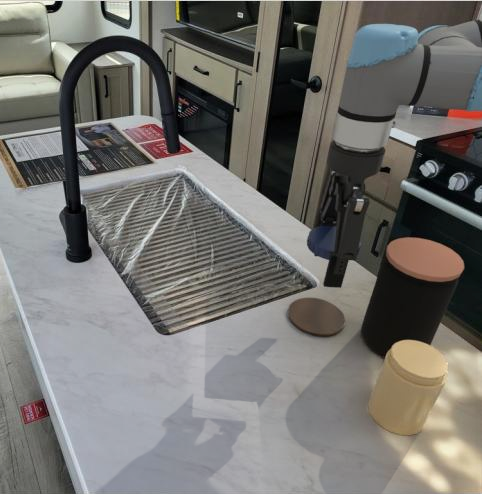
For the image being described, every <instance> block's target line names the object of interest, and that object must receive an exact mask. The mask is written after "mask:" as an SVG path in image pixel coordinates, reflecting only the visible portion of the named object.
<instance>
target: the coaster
mask: <svg viewBox="0 0 482 494" xmlns="http://www.w3.org/2000/svg"><path fill="white" fill-rule="evenodd" d="M287 317H288V319H289V321H290V323H291V324H292V325H293V326H294V327H295V328H296V329H298V330H300V331H301V332H303V333H306V334H307V335H311V336H314V337H321V338H325V337H333V336H336V335H337V334H339V333H341V332H342V331H343V330H344V327H345V325H346V318H345V315H344V313H343V312H342V310H341V309H340V308H339V307H338V306H336V305H335V304H333V303H331V302H329V300H325V299H322V298H317V297H301V298H298V299H296V300H294V301H292V303H291V304H290V305H289V307H288V309H287Z"/></svg>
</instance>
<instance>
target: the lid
mask: <svg viewBox="0 0 482 494" xmlns="http://www.w3.org/2000/svg"><path fill="white" fill-rule="evenodd" d="M336 228H337V226H320V225H318V226H316V227H315V226H314V227H313V228H311V229H310V230H309V232H308V235H307V239H306V246H307V248H308V250H309V251H310V252H311V253H312V254H313V255H314V254H315V255H317V256H316V257H318V258H320V259H323V260H327V261H329V258H330V256H329V251H334V246H335V237H336ZM361 245H362V242H361V240H360V242H359V247H358V252H357V256H359V253H360V249H361Z"/></svg>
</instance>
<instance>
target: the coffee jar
mask: <svg viewBox="0 0 482 494" xmlns="http://www.w3.org/2000/svg"><path fill="white" fill-rule="evenodd" d="M464 262H465V261H464V260H463V259H462V257H461V256H460V255H459V254H458V253H457V252H456V251H454V250H453V249H452V248H451V247H448V246H446V245H444V244H442V243H439V242H436V241H433V240H432V239H431V240H430V239H427V238H421V237H409V236H408V237H407V236H406V237H400V238H397V239H394V240H392V241H390V242H389V244H388V245H386V251H385V256H384V257H383V258H382V261H381V264H380V267H379V270H378V274H377V277H376V279H375V283H374V286H373V289H372V292H371V295H370V298H369V301H368V304H367V308H366V311H365V314H364V316H363V320H362V322H361V323H362V324H361V329H360V331H361V335H362V338H363V340H364V342H365V344H366V345H367V346H368V348H369V349H370V350H371V351H373V352H374V353H376V355H379V356H380V357H383V358H385V357H386V354H387V352H388V351H389V350H390V349H391V348H392V346H393V345H394V344H395V343H397V342H399V341H402V340H415V341H420V342H423V343H426V344H428V345H430V346H432V343H433V340H434V339H435V336H436V333H437V331H438V329H439V327H440V325H441V322H442V320H443V317H444V315H445V313H446V311H447V309H448V307H449V304H450V302H451V300H452V297H453V295H454V293H455V291H456V288H457V286H458V284H459V277H460V276H461V274H462V273H463V271H464V270H465V263H464Z"/></svg>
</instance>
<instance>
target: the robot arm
mask: <svg viewBox="0 0 482 494" xmlns="http://www.w3.org/2000/svg"><path fill="white" fill-rule="evenodd" d="M346 61H347V62H346V68H345V72H344V77H343V82H342V87H341V91H340V98H339V103H338V108H337V110H336V114H335V117H334V118H335V119H334V123H333V126H332V127H333V128H332V132H331V138H332V141H331V142H330V144H329V149H328V153H327V157H326V165H327V167H328V168H329V174H328V178H327V181H326V185H325V187H324V192H323V195H322V199H321V201H320V202H321V203H320V205H319V209H318V210H319V213H320V220H321V222H320V225H319V226H337V228H336V237H335V246H334V251H329V256H330V258H329V260H328V263H327V267H326V271H325V275H324V279H323V282H322V285H323V287H325V288H337V289H339V288H340V289H341V288H342V286H343V282H344V279H345V276H346V272H347V269H348V265H349V262H350V261H357V257H358V255H357V252H358V247H359V242H360V241H361V238H362V232H363V227H364V223H365V218H366V213H367V211H368V208H369V206H370V202H371V201H370V198H368V197H364V195H365V193H366V183H365V180H367V179H368V178H370V177H374V176H376V175H377V174H378V173H379V172H380V171H381V169H382V165H383V161H384V157H385V154H386V148H385V146H387V144H388V142H389V138H390V136H391V132H392V129H394V128H395V127H396V126H397V123H396V121H395V118H396V115H397V111H398V109H399V106H410V107H422V108H432V109H434V108H435V109H443V110H457V111H466V112H467V113H470V112H482V17H481V18H479V19H475V20H470V21H467V22H463V23H460V24H455V25H452V26H450V25H441V24H440V25H433V26H430V27H428V28H425V29H423V30H422V31H420V32H418V30H417V28H415V27H413V26H410V25H405V24H393V23H371V24H366V25H364V26H362V27H360V28H359V29H358V30H357V31H356V33H355V35H354V38H353V42H352V45H351V49H350V52H349V56H348V59H347V60H346ZM313 256H314V257H318V256H317V255H315V254H314V253H313Z"/></svg>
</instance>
